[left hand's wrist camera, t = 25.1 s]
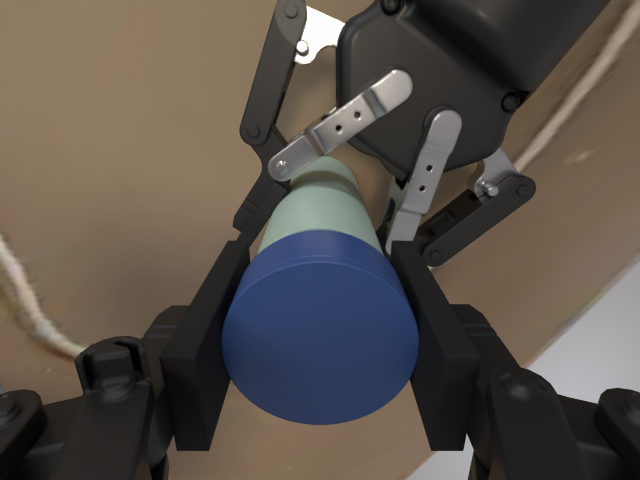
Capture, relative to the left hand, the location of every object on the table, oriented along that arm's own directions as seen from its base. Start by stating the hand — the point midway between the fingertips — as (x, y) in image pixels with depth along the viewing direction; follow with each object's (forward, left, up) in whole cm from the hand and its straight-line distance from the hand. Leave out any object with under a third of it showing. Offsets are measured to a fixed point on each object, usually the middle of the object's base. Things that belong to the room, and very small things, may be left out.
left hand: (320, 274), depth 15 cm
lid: (0, 0, +4) cm, 4 cm away
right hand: (-3, 0, -5) cm, 6 cm away
